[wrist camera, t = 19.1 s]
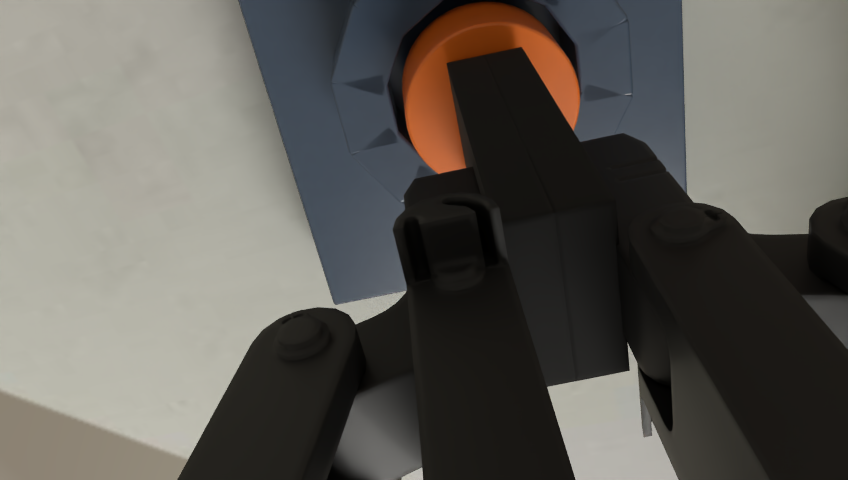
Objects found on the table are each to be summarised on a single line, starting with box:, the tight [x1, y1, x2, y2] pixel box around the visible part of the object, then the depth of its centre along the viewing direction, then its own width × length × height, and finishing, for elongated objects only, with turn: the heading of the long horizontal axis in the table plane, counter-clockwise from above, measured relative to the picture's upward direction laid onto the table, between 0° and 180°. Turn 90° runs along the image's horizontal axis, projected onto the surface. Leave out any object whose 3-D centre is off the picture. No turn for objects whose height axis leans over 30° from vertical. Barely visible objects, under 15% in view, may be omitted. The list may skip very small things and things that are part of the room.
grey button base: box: [238, 0, 687, 305], centre depth 19 cm, size 12×10×4 cm
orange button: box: [402, 1, 580, 174], centre depth 17 cm, size 4×4×2 cm
